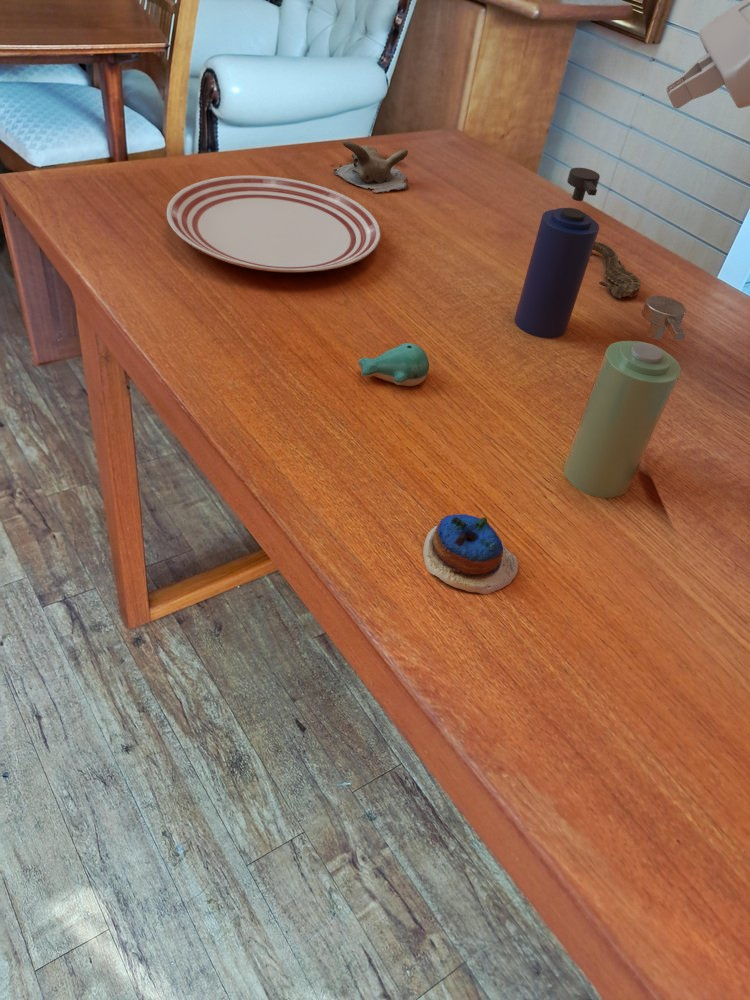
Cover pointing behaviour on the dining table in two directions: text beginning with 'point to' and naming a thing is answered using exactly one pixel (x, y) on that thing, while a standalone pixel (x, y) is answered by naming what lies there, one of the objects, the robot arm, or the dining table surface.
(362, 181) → the skull
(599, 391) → the bottle green
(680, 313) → the grey round-capped part
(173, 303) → the dining table surface
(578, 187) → the black dispenser pump head
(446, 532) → the dessert
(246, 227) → the dinner plate
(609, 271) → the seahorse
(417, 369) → the whale figurine
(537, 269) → the bottle navy
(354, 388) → the dining table surface
